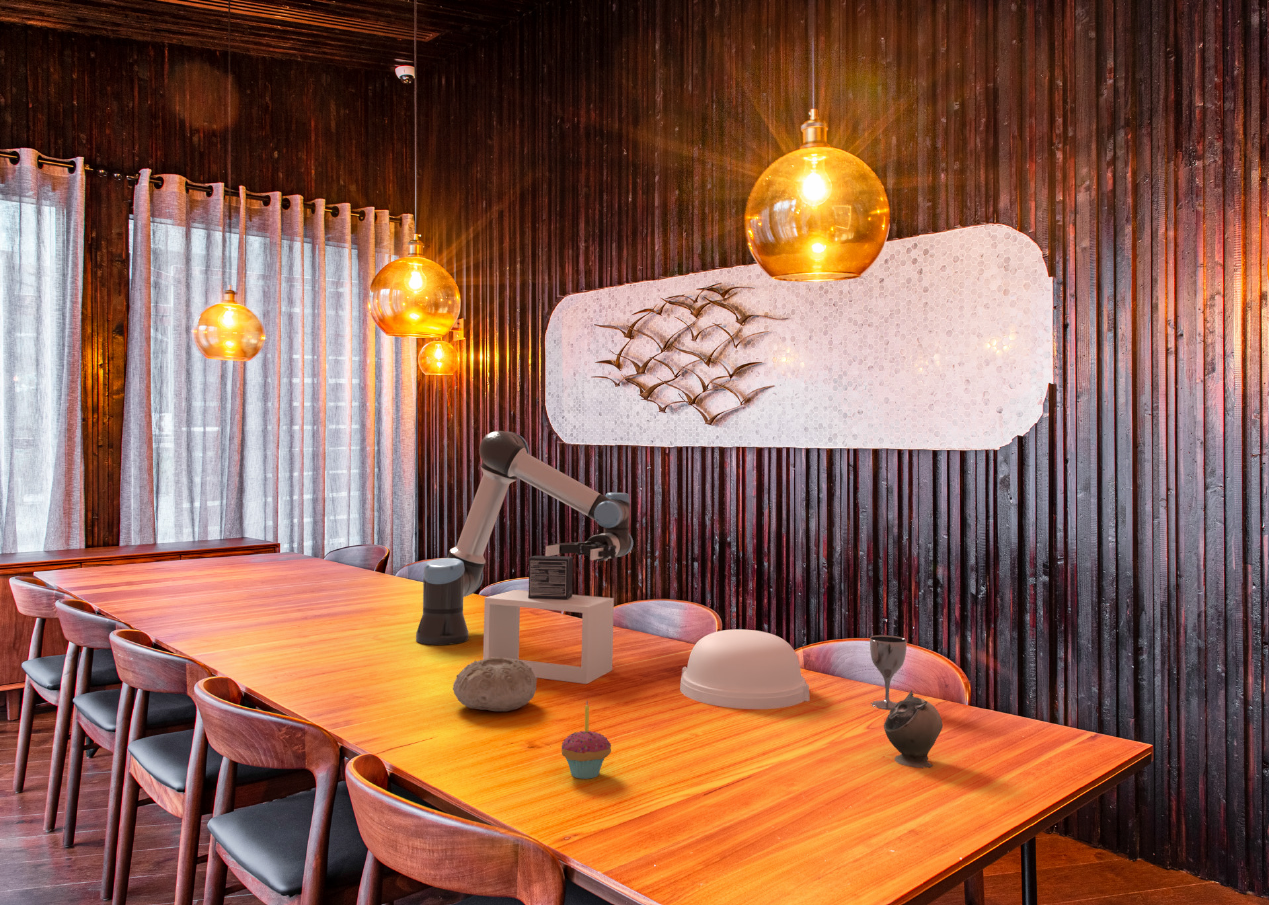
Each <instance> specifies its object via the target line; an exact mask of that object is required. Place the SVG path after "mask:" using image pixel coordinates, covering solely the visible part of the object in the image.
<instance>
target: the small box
mask: <svg viewBox="0 0 1269 905" xmlns="http://www.w3.org/2000/svg"><path fill="white" fill-rule="evenodd" d="M573 558H574V557H573V556H563V555H562V556H561V555H560V556H558V555H557V556H554V555H552V556H546V555H533V556H529V557H528V591H529V594H528V598H534V599H569V598H570V597H571V596H572V595H573V564H574V562H573V560H574V559H573Z"/></svg>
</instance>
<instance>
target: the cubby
mask: <svg viewBox="0 0 1269 905" xmlns="http://www.w3.org/2000/svg"><path fill="white" fill-rule="evenodd" d="M528 594H529V590H521V589H512V590H509V591H506V592H501V593H498V594H494V595H490V596H487V597H484V608H483V609H484V615H483V617H484V618H483V619H484V620H483V652H482V653H483V657H482V660H484V659H488V658H489V657H491V658H494V657H497V658H500V657H502V658H504V659H515V660H519V661H521V662H523V663H525V664H526V665H527V666H528V667H531V668H532V671H533V673H534V676H535V677H536V678H537V679H545V680H552V681H553V680H554V681H560V682H561V681H562V682H568V683H569V682H571V683H577V684H582V685H583V684H585V685H587V684H589V683H591V682H593V681H595V680H597V679H598V678H601V677H602V676H604V675H606V674H608V673H610V672H611V671H613V656H614V654H613V652H614V651H613V650H614V607H615V606H614V603H615V602H614V601H615V600H614V597H603V596H595V595H594V596H592V595H582V594H581V595H579V594H572V596H571V597H570V598H569V599H534V598H528ZM521 608H527V609H537V610H538V609H539V610H549V611H561V612H570V613H571V612H572V613H581V614H582V620H581V622H582V624H581V629H582V630H581V660H580V661H581V663H580V664H581V666H575V665H568V664H559V663H551V662H541V661H536V660H535V661H532V660H526V659H525V660H524V659H519V658H520V657H519V656H520V654H519V653H520V622H521V621H520V616H521V615H520V614H521Z"/></svg>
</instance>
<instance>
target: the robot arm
mask: <svg viewBox="0 0 1269 905" xmlns="http://www.w3.org/2000/svg"><path fill="white" fill-rule="evenodd" d="M478 448H479V449H478V450H479V452H478V453H479V457H480V459H481V461H482V463H481V465H480V470H481V471H482V474H483V475H482V478H481V479H480V483H479V485H478V487H477V491H476V493H475V496H474V498H473V501H472V504H471V506H470V510H469V512H468V515H467V518H466V520H465V521H464V522H465V523H464V526H463V527H462V530H461V533H460V537H459V539H458V542H457V544H456V545H455V546H454V547H452V548H450V550H449V552H448V555H447V557H442V558H438V559H433V560H432V559H431V560H430V561H429V560H428V561H427V562H426V563H425V565H424V568H423V574H422V578H423V583H422V587H423V588H422V590H423V591H422V593H423V594H422V616H421V618H420V621H419V624H418V627H417V629H416V635H415V641H416V643H417V642H418V643H419V644H424V645H431V646H432V645H433V646H434V645H435V646H442V645H443V646H444V645H456V644H461V643H465V642H467V641H468V640H469V630H468V627H467V622H466V618H465V616H464V598H465V597H468V596H470V595H472V594H474V593H475V592H476V591H477V590H479V588H480V587H481V585H482V583H483V580H484V567H485V565H486V559H485V556H484V553H485V550H486V548H487V545H488V543H489V540H490V538H491V535H492V532H493V529H494V526H495V523H496V521H497V519H498V516H499V514H500V510H501V508H502V506H503V503H504V500H505V497H506V494H507V492H508V489H509V486H510V484H511V483H513V482H516V481H517V479H519V480H521V481H523V482H524V483H527V484H528V485H530V486H532V487H534V488H535V489H538V490H539V491H542V492H543V493H545V494H546V495H549V496H550V497H552V498H554V499H556V500H558V501H560V502H562V503H563V504H565V505H567V506H568V507H571V508H572V509H574V510H576V511H577V512H579V513H581V514H583V515H585V516H587V517H589V518H590V519H591V520H594V521H595V522H596V523H597V524H598V525H599V526H600V527H603V533H600V534H595V535H594V534H593V535H592V536H590V537H589V538H588V539H587V540H586V541H582V542H581V541H580V542H578V541H577V542H576V541H574V542H563V543H562V542H559V543H557V542H556V543H549V545H546V546H545V556H558V555H560V554H576V555H581V556H587V557H589V560H590V561H597V562H600V561H605V562H607V561H608V559H615V558H618V557H619V558H620V557H623V556H626V555H627V554H630V552H631V551H632V549H633V546H634V540H633V537H632V535H631V534H630V527H629V526H630V525H629V524H630V507H631V503H630V494H628V493H626V492H607V493H606V494H605V495H603V494H601V493H599V492H598V491H596V490H594V489H592V488H590V487H589V486H587V485H585V484H584V483H581V482H580V481H577V480H576V479H575V478H572V477H570V476H569V475H567V474H566V473H564V472H561V471H560V470H558V469H556V468H555V467H553V466H551V465H549V464H548V463H545V462H543V461H542V460H540V459H538V458H536V457H535V456H532V455H531V454H530V448H529V444H528V443H527V441H526V439H525V438H524V437H523V436H521V435H520V434H518V433H516V432H512V431H503V430H496V431H495V430H494V431H491V432H489V433H487V434H486V435H485V436H484V437H483V438H482V440H481V441H480V444H479V447H478Z"/></svg>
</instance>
